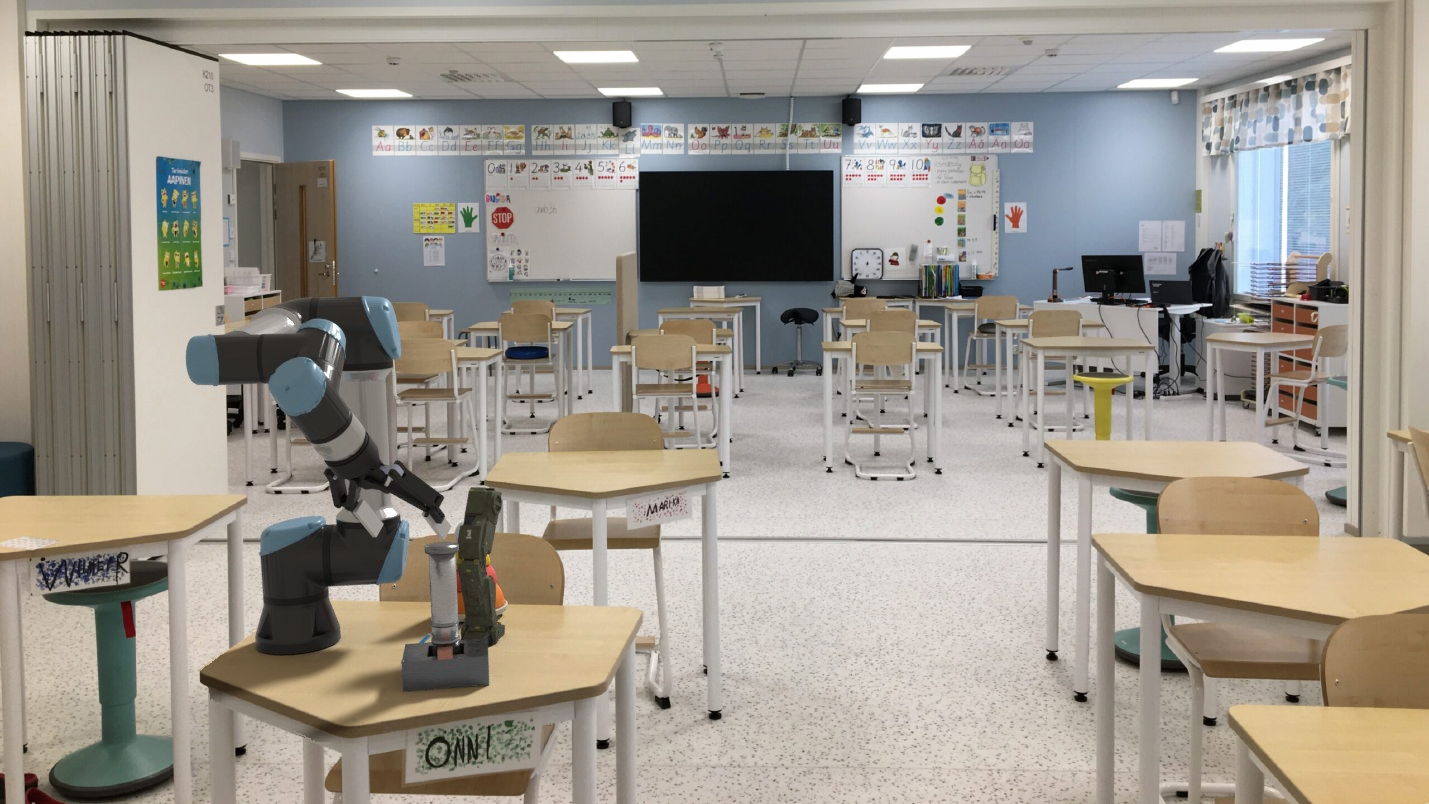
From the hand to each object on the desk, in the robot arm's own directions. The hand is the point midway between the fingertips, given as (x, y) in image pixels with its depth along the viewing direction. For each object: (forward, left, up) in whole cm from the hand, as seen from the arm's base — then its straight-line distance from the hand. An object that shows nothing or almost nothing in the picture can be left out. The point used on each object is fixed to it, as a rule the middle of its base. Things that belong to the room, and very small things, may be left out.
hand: (411, 532), depth 187 cm
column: (-6, +4, -27) cm, 28 cm away
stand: (-6, +4, -27) cm, 28 cm away
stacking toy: (-43, +8, -27) cm, 51 cm away
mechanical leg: (-26, +10, -27) cm, 39 cm away
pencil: (-24, -2, -27) cm, 36 cm away
